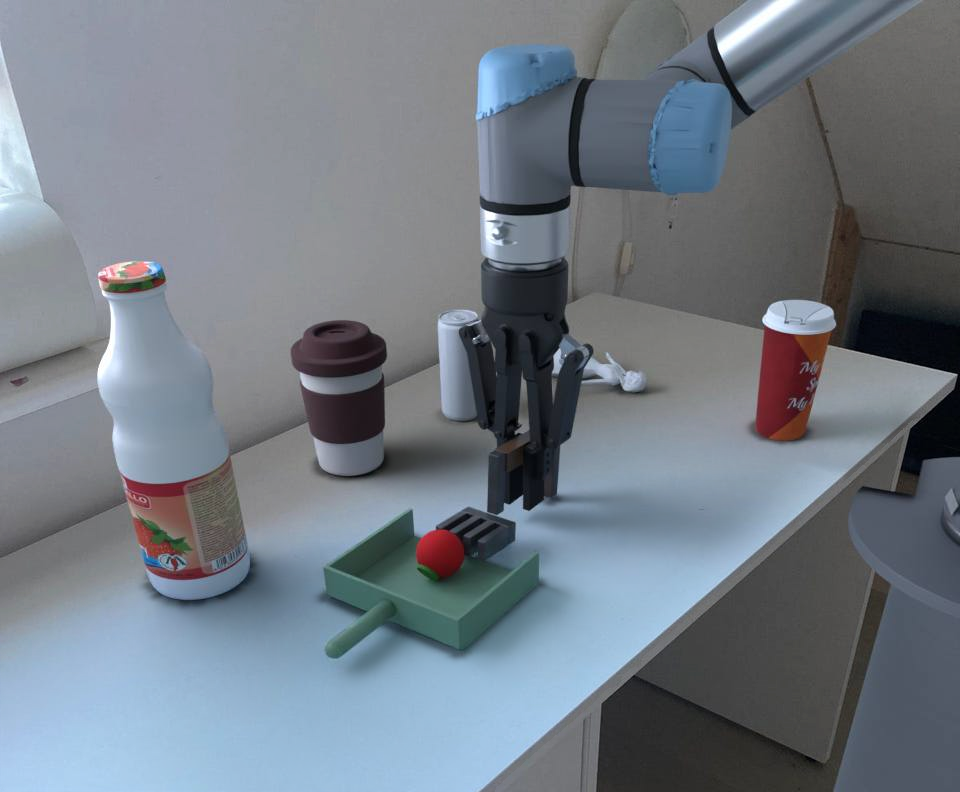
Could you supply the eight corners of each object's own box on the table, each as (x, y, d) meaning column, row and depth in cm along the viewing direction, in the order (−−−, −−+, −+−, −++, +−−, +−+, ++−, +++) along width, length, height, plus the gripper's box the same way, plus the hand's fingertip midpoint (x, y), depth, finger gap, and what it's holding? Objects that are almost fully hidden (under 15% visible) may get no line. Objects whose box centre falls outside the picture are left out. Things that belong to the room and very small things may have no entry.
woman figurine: (547, 318, 132) (668, 352, 124) (545, 350, 135) (663, 385, 127) (500, 345, 124) (626, 383, 117) (498, 378, 127) (621, 417, 119)
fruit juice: (261, 588, 90) (202, 277, 73) (157, 612, 87) (70, 296, 70) (241, 539, 97) (182, 245, 80) (144, 561, 94) (61, 261, 77)
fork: (529, 486, 103) (533, 413, 99) (575, 500, 101) (581, 426, 96) (435, 544, 92) (434, 465, 88) (484, 562, 89) (486, 481, 85)
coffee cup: (363, 491, 104) (348, 354, 95) (289, 472, 108) (267, 338, 99) (412, 453, 111) (403, 322, 102) (341, 436, 115) (326, 309, 106)
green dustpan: (411, 537, 96) (409, 507, 94) (538, 582, 89) (539, 552, 87) (265, 641, 83) (259, 609, 81) (401, 704, 76) (398, 671, 74)
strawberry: (456, 525, 86) (429, 568, 86) (481, 551, 90) (456, 592, 89) (423, 515, 89) (397, 556, 89) (449, 541, 93) (424, 580, 92)
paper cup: (807, 449, 109) (832, 325, 101) (739, 438, 112) (757, 316, 103) (819, 421, 115) (843, 302, 106) (754, 411, 118) (772, 294, 109)
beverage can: (472, 403, 122) (469, 306, 114) (487, 418, 118) (485, 319, 111) (436, 410, 120) (431, 312, 113) (450, 425, 117) (446, 326, 109)
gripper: (429, 256, 84) (442, 497, 99) (576, 283, 77) (567, 538, 92) (479, 235, 89) (485, 468, 103) (622, 259, 82) (606, 505, 97)
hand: (523, 500), depth 98 cm, fingers closed on fork, 2 cm apart
